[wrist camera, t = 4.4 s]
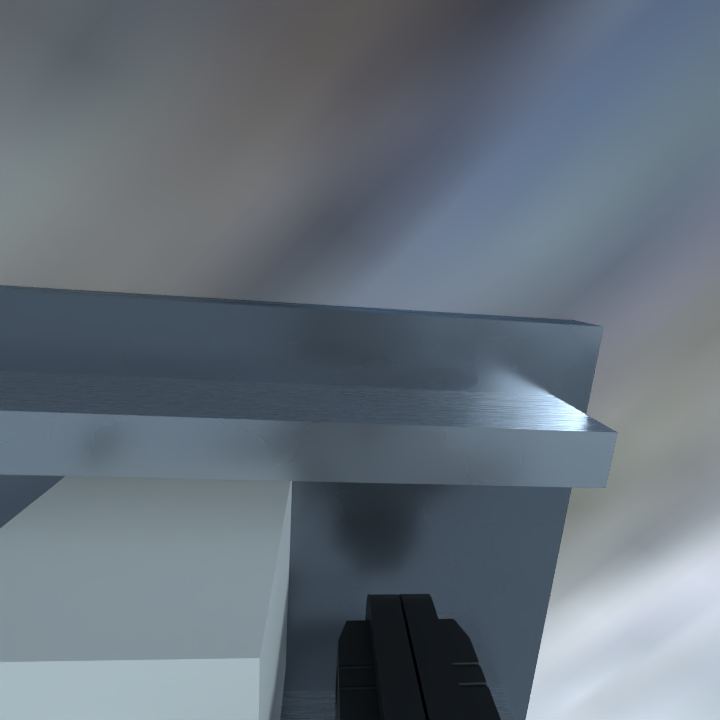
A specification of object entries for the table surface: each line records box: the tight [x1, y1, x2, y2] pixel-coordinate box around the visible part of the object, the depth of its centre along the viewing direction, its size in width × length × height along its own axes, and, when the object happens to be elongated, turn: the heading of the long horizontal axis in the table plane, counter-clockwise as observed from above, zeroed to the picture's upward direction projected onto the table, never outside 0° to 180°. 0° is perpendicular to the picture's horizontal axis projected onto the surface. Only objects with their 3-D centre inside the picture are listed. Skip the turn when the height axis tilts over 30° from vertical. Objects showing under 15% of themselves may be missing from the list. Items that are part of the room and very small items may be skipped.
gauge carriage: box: [0, 476, 292, 720], centre depth 8 cm, size 5×7×6 cm
